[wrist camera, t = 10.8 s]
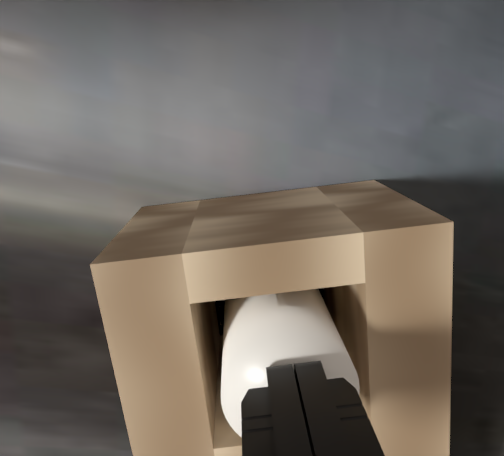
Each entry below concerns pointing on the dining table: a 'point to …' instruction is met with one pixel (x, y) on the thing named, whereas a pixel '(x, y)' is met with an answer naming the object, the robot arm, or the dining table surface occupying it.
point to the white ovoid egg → (277, 343)
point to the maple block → (272, 282)
